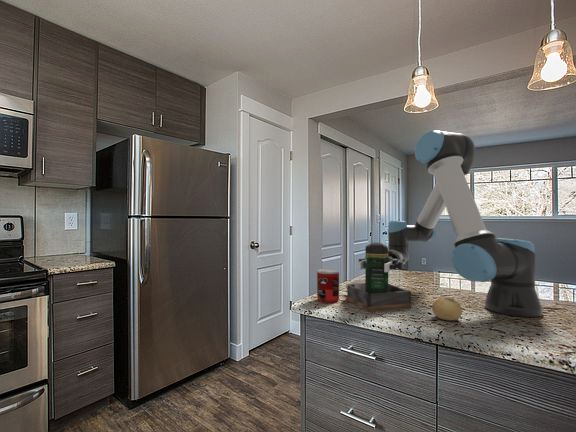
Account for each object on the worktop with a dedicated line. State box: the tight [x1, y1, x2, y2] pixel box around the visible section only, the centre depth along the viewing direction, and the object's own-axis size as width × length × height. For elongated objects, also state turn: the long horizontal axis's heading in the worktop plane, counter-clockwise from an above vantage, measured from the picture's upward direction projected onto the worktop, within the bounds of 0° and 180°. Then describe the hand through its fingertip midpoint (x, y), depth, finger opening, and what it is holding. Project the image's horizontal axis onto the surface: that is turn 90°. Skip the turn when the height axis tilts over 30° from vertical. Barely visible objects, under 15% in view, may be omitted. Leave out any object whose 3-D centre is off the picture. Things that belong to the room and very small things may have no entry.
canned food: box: [316, 268, 340, 304], centre depth 113 cm, size 8×8×11 cm
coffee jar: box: [364, 242, 389, 294], centre depth 109 cm, size 10×8×19 cm
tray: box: [345, 283, 412, 313], centre depth 108 cm, size 16×16×6 cm
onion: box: [431, 296, 463, 321], centre depth 92 cm, size 8×8×7 cm
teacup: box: [345, 278, 365, 291], centre depth 121 cm, size 10×8×5 cm
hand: (372, 267), depth 105 cm, fingers closed on coffee jar, 8 cm apart
